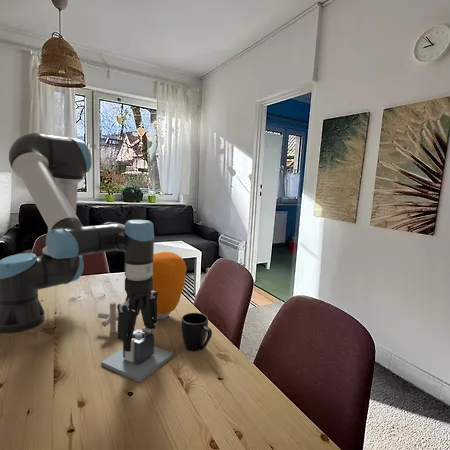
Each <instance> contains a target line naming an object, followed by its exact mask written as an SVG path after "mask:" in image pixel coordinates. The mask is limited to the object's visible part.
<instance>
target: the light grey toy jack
mask: <svg viewBox="0 0 450 450" xmlns="http://www.w3.org/2000/svg"><path fill="white" fill-rule="evenodd" d="M116 309H117V304H116V302H115V301H111V302H110V303H109V313H108V312H102V311H101V312H99V313H98V314H97V318H99V319H103V321H102V322H101V326H102V327H105V328H106V327H107V326H108V325H109V332H110V333H112V334H113V333H117V329H116V328H117V325H116V324H117V322H118V310H116Z"/></svg>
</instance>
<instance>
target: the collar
mask: <svg viewBox="0 0 450 450" xmlns="http://www.w3.org/2000/svg"><path fill="white" fill-rule="evenodd" d="M136 333H142V339H141V340H136V339H135V334H136ZM132 338H133V339H134V362H135V363H137V364H140V363H142V362H143V361H144V360H146V359H147V358H149V357H150V356H152V355H153V354H154V346H155V334H154V333H153V332H152V333H148V332H146V331H143V330H142V329H141V328H138V329H136V330H134V332H133V337H132ZM122 349H123V358H125V351H124V341H122Z"/></svg>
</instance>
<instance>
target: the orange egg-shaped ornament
mask: <svg viewBox="0 0 450 450" xmlns="http://www.w3.org/2000/svg"><path fill="white" fill-rule="evenodd" d="M186 275H187V265H186V262H185V260H184V258H183V257H182V256H180V255H178V254H177V253H175V252H171V251H170V252H169V251H160V252H154V253H153V275H152V277H153V289H152V291H156V292H158V296H157V320H162V319H163V320H164V319H166V318H167V317H168V316H169V315H170V314H171V313H172V312H173V311H174V310H175V309H176V308H177V307H178V305H179V303H180V299H181V296H182V293H183V290H184V288H185V284H186V283H185V282H186V281H185V280H186Z"/></svg>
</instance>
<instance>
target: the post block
mask: <svg viewBox="0 0 450 450" xmlns="http://www.w3.org/2000/svg"><path fill="white" fill-rule="evenodd" d="M135 339H136V340H141V339H142V333H136V334H135ZM173 357H174V353H173V352H171V351H169V350H165V349H163V348H161V347H157V346H155V345H154V354H153V355H152V356H150V357H149V358H147V359H146V360H144V361H143V362H142V363H140V364H137V363H135V362H130V361H127V360H125V358H123V348H122V349H120V350H118V351H117V352H115V353H114V354H112V355H111V354H110V356H108V357H107V358H105V359H103V360H101V361H100V365H101V366H103V367H104V368H106V369H109V370H110V371H111V370H112V371H113V372H115V373H118V374H120V375H122V376H124V377H126V378H129V379H131V380H133V381H135V382H136V383H141V382H142V381H143V380H145V379H146V378H148V377H149V375H151V374H152V373H153V372H154V371H156V370H158V369H159V368H160V367H161V366H163V365H164V364H165V363H166V362H168V361H169V360H170V359H171V358H173Z"/></svg>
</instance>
